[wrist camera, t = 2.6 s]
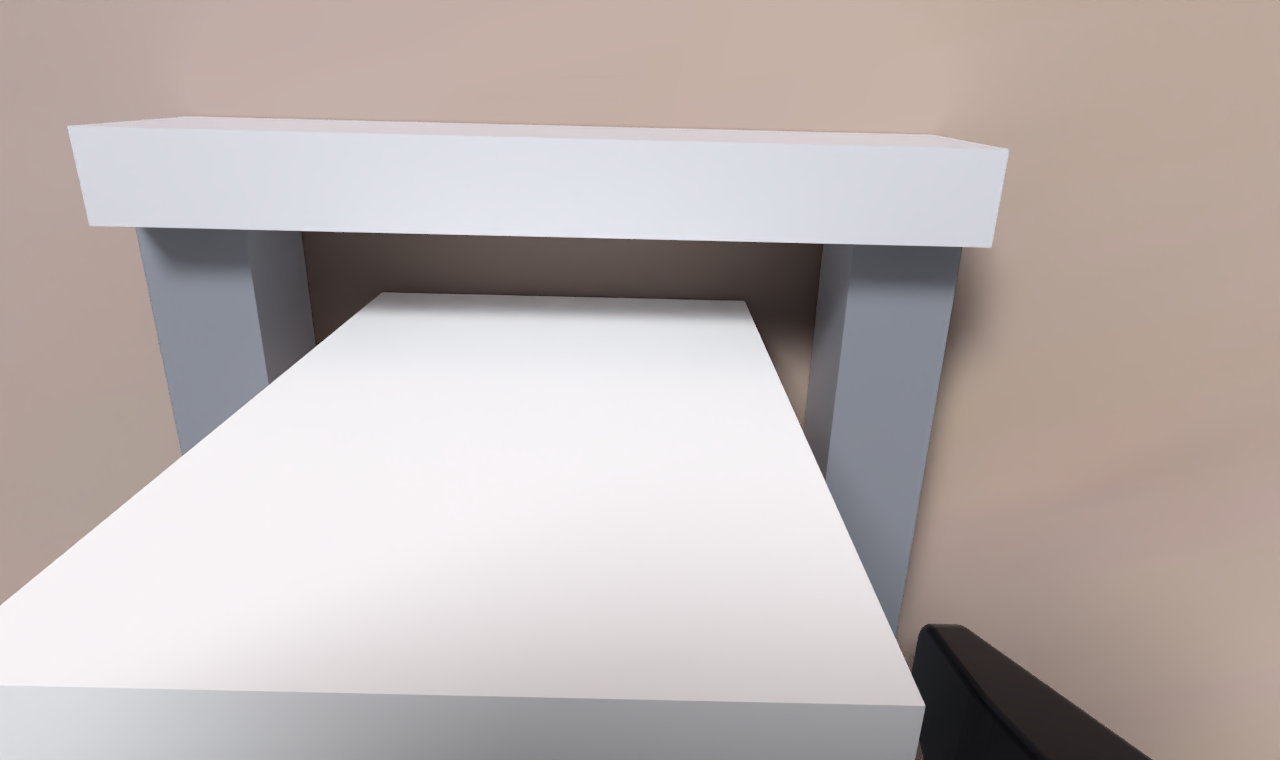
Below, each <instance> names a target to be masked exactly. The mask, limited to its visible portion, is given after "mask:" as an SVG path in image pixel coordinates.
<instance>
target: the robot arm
mask: <svg viewBox="0 0 1280 760" xmlns="http://www.w3.org/2000/svg"><path fill="white" fill-rule="evenodd" d="M912 677H913V679H914V681H915V683H916V686H917V688H918V690H919V692H920V695H921V697H922V699H923V701H924V703H925V712H924V717H923V722H922V727H921V732H920V737H919V741H920V745H921V749H922V753H923V757H924V760H1152V759H1151V758H1149V757H1148V756H1146V755H1145V754H1143V753H1142V752H1141V751H1139V750H1138V749H1136V748H1135V747H1134V746H1132V745H1131V744H1129V743H1128V742H1127V741H1125V740H1124V739H1122V738H1121V737H1120V736H1118V735H1117V734H1115V733H1114V732H1112V731H1111V730H1110V729H1108V728H1107V727H1105V726H1104V725H1103V724H1101V723H1100V722H1098V721H1097V720H1096V719H1094V718H1093V717H1091V716H1090V715H1089V714H1087V713H1086V712H1084V711H1083V710H1081V709H1080V708H1079V707H1077V706H1076V705H1074V704H1073V703H1072V702H1070V701H1069V700H1067V699H1066V698H1065V697H1063V696H1062V695H1060V694H1059V693H1058V692H1056V691H1055V690H1053V689H1052V688H1050V687H1049V686H1048V685H1046V684H1045V683H1043V682H1042V681H1041V680H1039V679H1038V678H1036V677H1035V676H1034V675H1032V674H1031V673H1029V672H1028V671H1027V670H1025V669H1024V668H1022V667H1021V666H1019V665H1018V664H1017V663H1015V662H1014V661H1012V660H1011V659H1010V658H1008V657H1007V656H1005V655H1004V654H1003V653H1001V652H1000V651H998V650H997V649H996V648H994V647H993V646H991V645H990V644H988V643H987V642H986V641H984V640H983V639H981V638H980V637H979V636H977V635H976V634H974V633H973V632H972V631H970V630H969V629H967V628H966V627H964V626H961V625H956V624H927V625H925V626H924V627H922V629H921V631H920V633H919V636H918V641H917V646H916V652H915V657H914V663H913V668H912Z"/></svg>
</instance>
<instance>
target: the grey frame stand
mask: <svg viewBox="0 0 1280 760" xmlns="http://www.w3.org/2000/svg"><path fill="white" fill-rule="evenodd" d="M67 127H68V132H69V136H70V141H71V145H72V150H73V154H74V158H75V163H76V167H77V172H78V176H79V181H80V185H81V190H82V194H83V199H84V203H85V207H86V212H87V216H88V221H89V225H90V226H117V227H136V232H137V237H138V242H139V247H140V252H141V257H142V262H143V266H144V271H145V276H146V281H147V286H148V291H149V296H150V301H151V306H152V311H153V315H154V320H155V325H156V330H157V335H158V340H159V345H160V350H161V355H162V359H163V364H164V369H165V374H166V379H167V384H168V389H169V394H170V399H171V404H172V408H173V413H174V418H175V423H176V428H177V433H178V438H179V443H180V448H181V453H182V456H183V455H184V454H186V453H187V452H188V451H189V450H190V449H192V448H193V447H194V446H195V445H197V444H198V443H199V442H200V441H201V440H203V439H204V438H205V437H206V436H208V435H209V434H210V433H211V432H212V431H214V430H215V429H216V428H217V427H218V426H220V425H221V424H222V423H223V422H225V421H226V420H227V419H228V418H229V417H231V416H232V415H233V414H234V413H236V412H237V411H238V410H239V409H240V408H242V407H243V406H244V405H245V404H247V403H248V402H249V401H250V400H251V399H253V398H254V397H255V396H256V395H257V394H259V393H260V392H261V391H262V390H264V389H265V388H266V387H267V386H268V385H270V384H271V383H272V382H273V381H275V380H276V379H277V378H278V377H279V376H281V375H282V374H283V373H284V372H286V371H287V370H288V369H289V368H290V367H292V366H293V365H294V364H295V363H296V362H298V361H299V360H300V359H301V358H303V357H304V356H305V355H306V354H307V353H309V352H310V351H311V350H312V349H314V348H315V347H316V342H315V335H314V327H313V319H312V312H311V304H310V296H309V289H308V281H307V273H306V265H305V258H304V250H303V242H302V235H301V231H325V232H366V233H407V234H449V235H490V236H532V237H573V238H615V239H656V240H698V241H739V242H781V243H822V244H823V253H822V263H821V272H820V281H819V291H818V300H817V310H816V319H815V328H814V338H813V347H812V356H811V366H810V375H809V384H808V394H807V403H806V413H805V422H804V431H803V433H804V435H805V437H806V440H807V442H808V444H809V446H810V448H811V451H812V453H813V455H814V457H815V460H816V462H817V464H818V466H819V469H820V471H821V473H822V475H823V478H824V480H825V482H826V484H827V486H828V489H829V491H830V493H831V495H832V498H833V500H834V502H835V504H836V507H837V509H838V511H839V513H840V516H841V518H842V520H843V522H844V525H845V527H846V529H847V531H848V533H849V536H850V538H851V540H852V542H853V545H854V547H855V549H856V551H857V554H858V556H859V558H860V560H861V563H862V565H863V567H864V569H865V571H866V574H867V576H868V578H869V580H870V583H871V585H872V587H873V589H874V592H875V594H876V596H877V598H878V601H879V603H880V605H881V607H882V610H883V612H884V614H885V616H886V618H887V621H888V623H889V625H890V627H891V630H892V632H893V634H894V636H895V639H896V634H897V628H898V623H899V617H900V611H901V605H902V599H903V593H904V587H905V581H906V575H907V570H908V564H909V558H910V552H911V546H912V540H913V534H914V528H915V523H916V517H917V511H918V505H919V499H920V493H921V487H922V481H923V475H924V470H925V464H926V458H927V452H928V446H929V440H930V434H931V428H932V422H933V417H934V411H935V405H936V399H937V393H938V387H939V381H940V375H941V370H942V364H943V358H944V352H945V346H946V340H947V334H948V328H949V322H950V317H951V311H952V305H953V299H954V293H955V287H956V281H957V275H958V269H959V264H960V258H961V252H962V247H988V248H991V247H992V242H993V236H994V231H995V225H996V220H997V214H998V209H999V204H1000V198H1001V193H1002V187H1003V182H1004V176H1005V171H1006V165H1007V160H1008V154H1009V149H1006V148H1000V147H995V146H990V145H985V144H979V143H974V142H969V141H963V140H958V139H953V138H948V137H942V136H937V135H924V134H883V133H843V132H802V131H762V130H721V129H681V128H640V127H600V126H559V125H518V124H478V123H437V122H397V121H356V120H316V119H275V118H235V117H194V116H186V117H174V118H161V119H149V120H137V121H124V122H112V123H99V124H87V125H74V126H67Z"/></svg>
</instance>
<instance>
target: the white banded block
mask: <svg viewBox="0 0 1280 760" xmlns="http://www.w3.org/2000/svg"><path fill="white" fill-rule="evenodd" d="M924 712H925V703H924V701H923V699H922V697H921V695H920V692H919V690H918V688H917V686H916V683H915V681H914V679H913V677H912V674H911V672H910V670H909V668H908V665H907V663H906V661H905V659H904V656H903V654H902V652H901V650H900V648H899V645H898V643H897V641H896V639H895V636H894V634H893V632H892V630H891V627H890V625H889V623H888V621H887V618H886V616H885V614H884V612H883V610H882V607H881V605H880V603H879V601H878V598H877V596H876V594H875V592H874V589H873V587H872V585H871V583H870V580H869V578H868V576H867V574H866V571H865V569H864V567H863V565H862V563H861V560H860V558H859V556H858V554H857V551H856V549H855V547H854V545H853V542H852V540H851V538H850V536H849V533H848V531H847V529H846V527H845V525H844V522H843V520H842V518H841V516H840V513H839V511H838V509H837V507H836V504H835V502H834V500H833V498H832V495H831V493H830V491H829V489H828V486H827V484H826V482H825V480H824V478H823V475H822V473H821V471H820V469H819V466H818V464H817V462H816V460H815V457H814V455H813V453H812V451H811V448H810V446H809V444H808V442H807V440H806V437H805V435H804V433H803V431H802V428H801V426H800V424H799V422H798V419H797V417H796V415H795V413H794V410H793V408H792V406H791V404H790V401H789V399H788V397H787V395H786V393H785V390H784V388H783V386H782V384H781V381H780V379H779V377H778V375H777V372H776V370H775V368H774V366H773V363H772V361H771V359H770V357H769V355H768V352H767V350H766V348H765V346H764V343H763V341H762V339H761V337H760V334H759V332H758V330H757V328H756V325H755V323H754V321H753V319H752V316H751V314H750V312H749V310H748V308H747V305H746V303H745V301H723V300H682V299H640V298H598V297H556V296H514V295H473V294H431V293H389V292H382V293H381V294H379V295H378V296H377V297H376V298H374V299H373V300H372V301H371V302H370V303H368V304H367V305H366V306H365V307H364V308H362V309H361V310H360V311H359V312H357V313H356V314H355V315H354V316H353V317H351V318H350V319H349V320H348V321H346V322H345V323H344V324H343V325H342V326H340V327H339V328H338V329H337V330H335V331H334V332H333V333H332V334H331V335H329V336H328V337H327V338H326V339H325V340H323V341H322V342H321V343H320V344H318V345H317V346H316V347H315V348H314V349H312V350H311V351H310V352H309V353H307V354H306V355H305V356H304V357H303V358H301V359H300V360H299V361H298V362H296V363H295V364H294V365H293V366H292V367H290V368H289V369H288V370H287V371H286V372H284V373H283V374H282V375H281V376H279V377H278V378H277V379H276V380H275V381H273V382H272V383H271V384H270V385H268V386H267V387H266V388H265V389H264V390H262V391H261V392H260V393H259V394H257V395H256V396H255V397H254V398H253V399H251V400H250V401H249V402H248V403H247V404H245V405H244V406H243V407H242V408H240V409H239V410H238V411H237V412H236V413H234V414H233V415H232V416H231V417H229V418H228V419H227V420H226V421H225V422H223V423H222V424H221V425H220V426H218V427H217V428H216V429H215V430H214V431H212V432H211V433H210V434H209V435H208V436H206V437H205V438H204V439H203V440H201V441H200V442H199V443H198V444H197V445H195V446H194V447H193V448H192V449H190V450H189V451H188V452H187V453H186V454H184V455H183V456H182V457H181V458H179V459H178V460H177V461H176V462H175V463H173V464H172V465H171V466H170V467H169V468H167V469H166V470H165V471H164V472H162V473H161V474H160V475H159V476H158V477H156V478H155V479H154V480H153V481H151V482H150V483H149V484H148V485H147V486H145V487H144V488H143V489H142V490H140V491H139V492H138V493H137V494H136V495H134V496H133V497H132V498H131V499H130V500H128V501H127V502H126V503H125V504H123V505H122V506H121V507H120V508H119V509H117V510H116V511H115V512H114V513H112V514H111V515H110V516H109V517H108V518H106V519H105V520H104V521H103V522H101V523H100V524H99V525H98V526H97V527H95V528H94V529H93V530H92V531H91V532H89V533H88V534H87V535H86V536H84V537H83V538H82V539H81V540H80V541H78V542H77V543H76V544H75V545H73V546H72V547H71V548H70V549H69V550H67V551H66V552H65V553H64V554H62V555H61V556H60V557H59V558H58V559H56V560H55V561H54V562H53V563H52V564H50V565H49V566H48V567H47V568H45V569H44V570H43V571H42V572H41V573H39V574H38V575H37V576H36V577H34V578H33V579H32V580H31V581H30V582H28V583H27V584H26V585H25V586H23V587H22V588H21V589H20V590H19V591H17V592H16V593H15V594H14V595H13V596H11V597H10V598H9V599H8V600H6V601H5V602H4V603H3V604H2V605H0V760H915V758H916V752H917V747H918V742H919V737H920V732H921V727H922V722H923V717H924Z"/></svg>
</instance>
